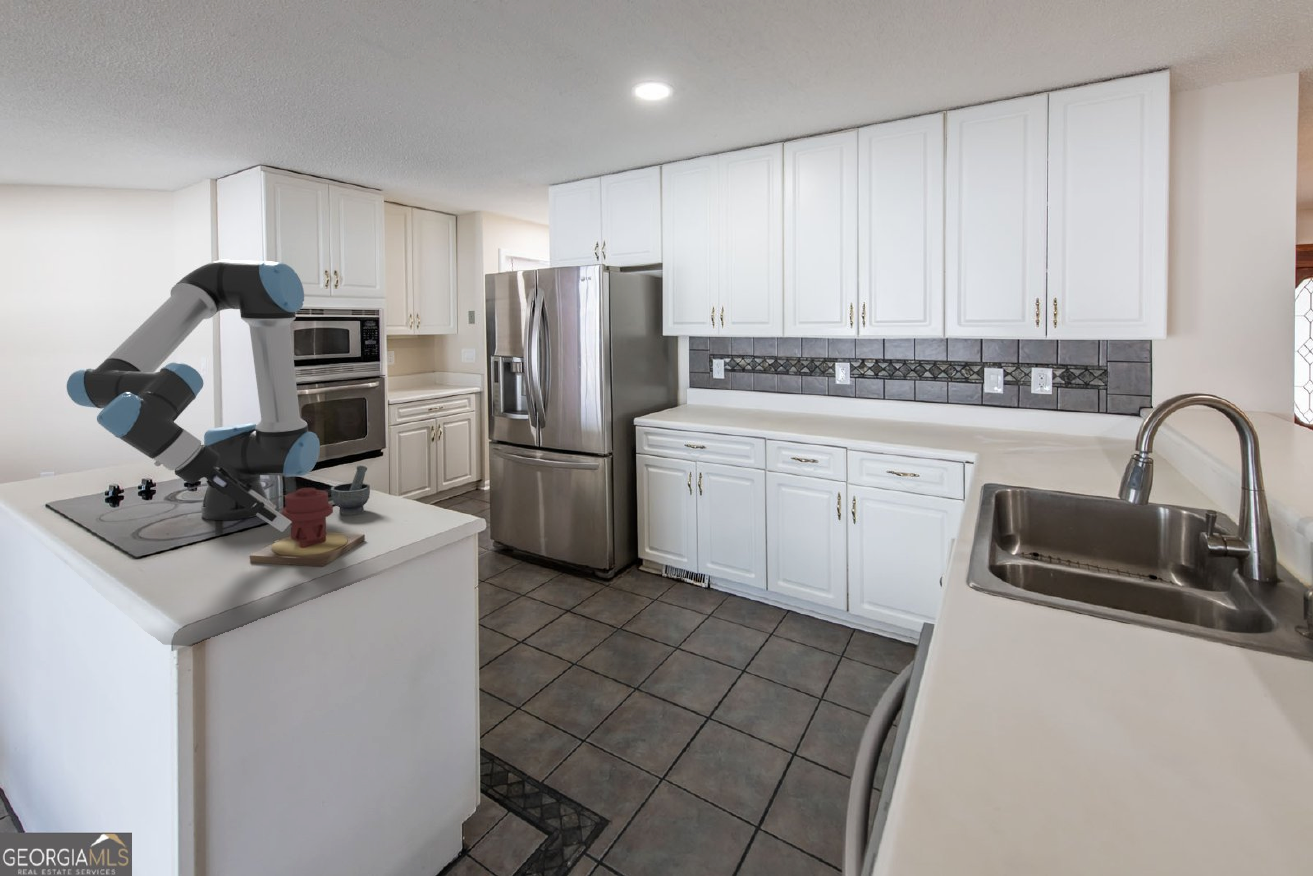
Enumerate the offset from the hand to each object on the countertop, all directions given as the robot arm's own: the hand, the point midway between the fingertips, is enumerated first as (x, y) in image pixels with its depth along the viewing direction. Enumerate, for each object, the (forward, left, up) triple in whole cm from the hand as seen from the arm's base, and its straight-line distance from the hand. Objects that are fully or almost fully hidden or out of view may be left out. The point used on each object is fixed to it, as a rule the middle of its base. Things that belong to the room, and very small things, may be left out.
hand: (279, 518), depth 137 cm
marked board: (-4, +4, -9) cm, 10 cm away
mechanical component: (-4, +4, -7) cm, 9 cm away
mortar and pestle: (-35, -3, -9) cm, 36 cm away
